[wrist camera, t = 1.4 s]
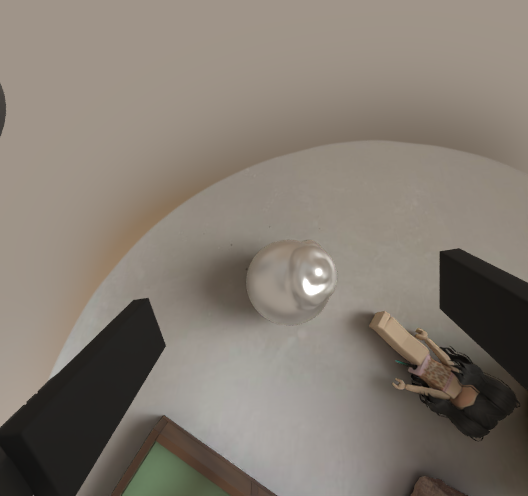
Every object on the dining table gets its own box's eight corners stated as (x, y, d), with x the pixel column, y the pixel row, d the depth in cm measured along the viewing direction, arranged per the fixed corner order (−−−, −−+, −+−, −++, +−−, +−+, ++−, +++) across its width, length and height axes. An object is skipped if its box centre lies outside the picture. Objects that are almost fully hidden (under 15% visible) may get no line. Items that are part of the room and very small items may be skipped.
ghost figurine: (324, 325, 32) (352, 339, 22) (244, 317, 32) (236, 327, 22) (328, 250, 33) (357, 231, 23) (252, 242, 33) (249, 220, 24)
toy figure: (348, 357, 31) (467, 440, 29) (370, 364, 25) (522, 468, 23) (375, 306, 33) (490, 380, 31) (402, 300, 27) (546, 391, 25)
